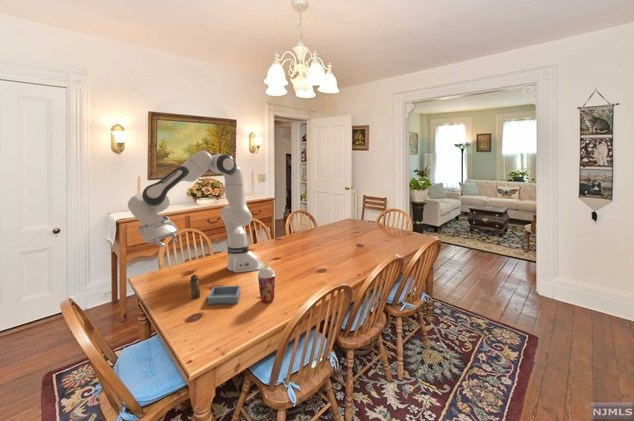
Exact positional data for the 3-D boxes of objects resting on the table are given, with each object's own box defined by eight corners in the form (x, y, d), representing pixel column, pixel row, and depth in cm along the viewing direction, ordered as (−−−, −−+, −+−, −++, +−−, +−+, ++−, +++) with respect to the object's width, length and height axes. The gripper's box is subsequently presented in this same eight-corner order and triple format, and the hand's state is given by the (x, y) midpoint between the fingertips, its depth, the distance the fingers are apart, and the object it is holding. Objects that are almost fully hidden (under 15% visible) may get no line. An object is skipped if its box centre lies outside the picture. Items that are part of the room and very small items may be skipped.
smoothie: (276, 296, 159) (275, 258, 155) (275, 304, 150) (273, 264, 147) (260, 296, 158) (258, 259, 155) (257, 304, 150) (256, 265, 146)
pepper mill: (200, 295, 160) (199, 272, 158) (198, 298, 156) (197, 275, 154) (192, 295, 160) (190, 273, 158) (190, 299, 156) (188, 276, 154)
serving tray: (240, 292, 163) (240, 285, 163) (237, 303, 151) (237, 296, 150) (213, 293, 162) (213, 286, 161) (208, 305, 149) (207, 298, 149)
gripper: (139, 223, 146) (158, 245, 146) (170, 215, 166) (186, 235, 165) (132, 231, 148) (150, 253, 147) (163, 223, 168) (179, 243, 167)
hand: (170, 244), depth 156 cm, fingers open, 8 cm apart
